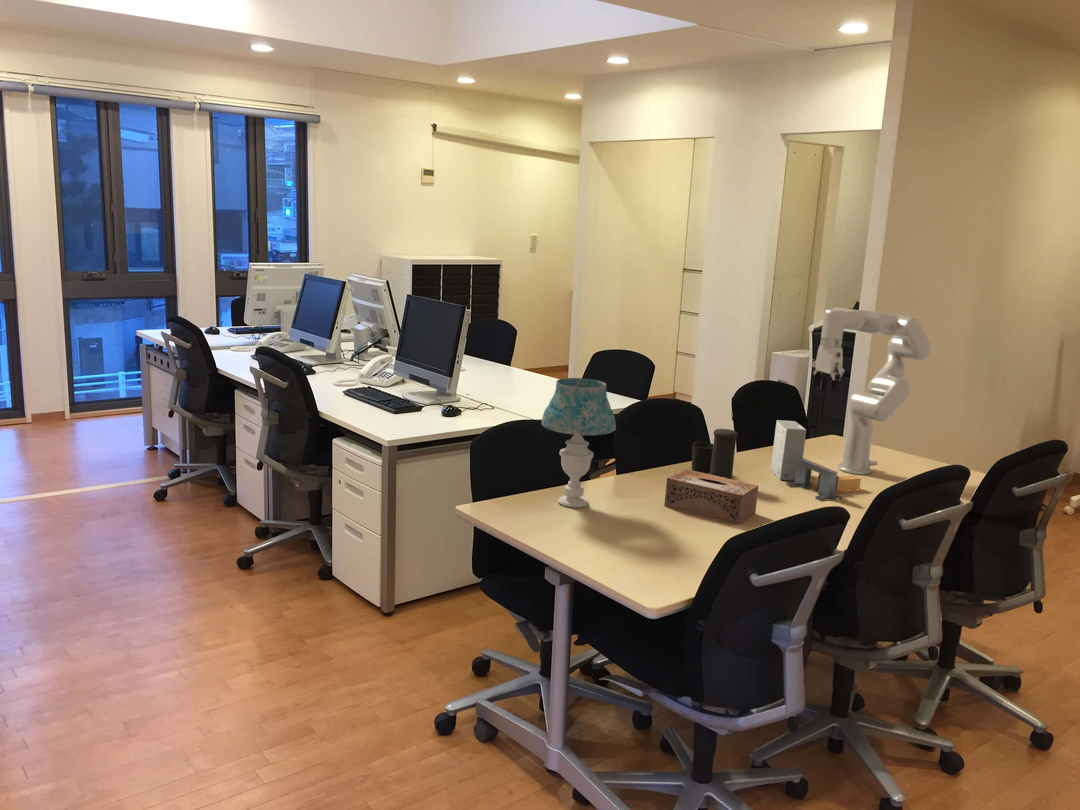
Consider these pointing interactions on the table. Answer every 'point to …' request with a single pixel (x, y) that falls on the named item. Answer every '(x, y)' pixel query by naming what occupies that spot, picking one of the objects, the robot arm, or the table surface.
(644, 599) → the table surface
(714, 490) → the tissue box cover
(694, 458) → the pen holder
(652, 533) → the table surface
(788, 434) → the hard drive box
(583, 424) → the table lamp
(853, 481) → the plug
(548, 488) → the table surface
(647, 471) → the table surface
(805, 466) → the bracket
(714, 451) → the container
